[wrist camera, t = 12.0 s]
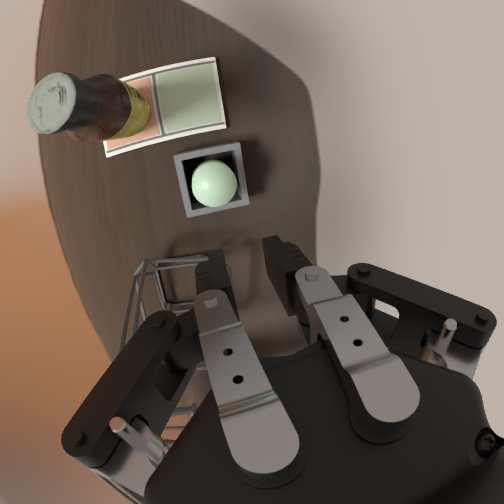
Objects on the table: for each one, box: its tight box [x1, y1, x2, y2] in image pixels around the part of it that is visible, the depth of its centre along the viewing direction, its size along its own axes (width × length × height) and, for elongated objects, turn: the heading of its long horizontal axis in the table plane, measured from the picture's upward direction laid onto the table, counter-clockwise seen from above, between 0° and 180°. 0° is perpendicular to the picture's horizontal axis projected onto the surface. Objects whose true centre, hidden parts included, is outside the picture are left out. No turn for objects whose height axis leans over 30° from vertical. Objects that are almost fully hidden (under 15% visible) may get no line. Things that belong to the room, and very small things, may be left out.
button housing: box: [174, 141, 249, 218], centre depth 33 cm, size 8×8×3 cm
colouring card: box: [103, 57, 226, 157], centre depth 29 cm, size 10×16×1 cm, turn 98°
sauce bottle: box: [27, 72, 151, 142], centre depth 19 cm, size 7×6×20 cm
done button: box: [192, 159, 237, 207], centre depth 31 cm, size 5×5×4 cm
